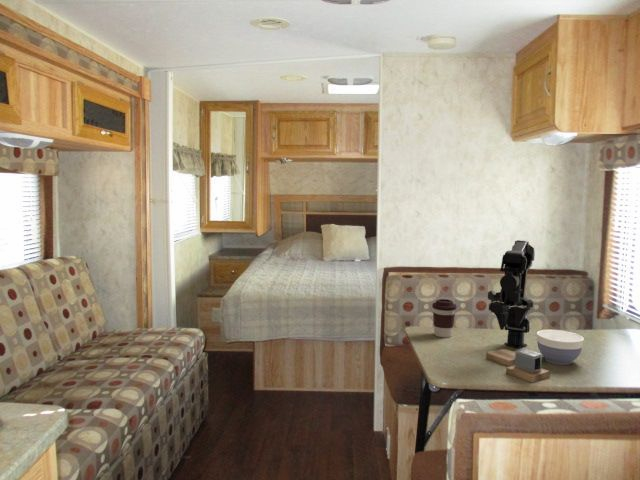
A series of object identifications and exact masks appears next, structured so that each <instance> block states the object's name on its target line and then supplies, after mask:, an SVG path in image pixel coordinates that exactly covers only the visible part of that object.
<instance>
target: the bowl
mask: <svg viewBox="0 0 640 480" xmlns="http://www.w3.org/2000/svg"><path fill="white" fill-rule="evenodd" d="M584 340H585V338H584V337H583V336H582V335H580V334H578V333H575V332H573V331H568V330H561V329H541V330H538V331H537V332H536V341H537V342H536V343H537V347H538V350H539V353H541V354H542V357H544V359H545V361H546V362H548V363H551V364H554V365H562V366H567V365H571V364H572V363H573V362H574V361H575V360H577V358H579V356H580V354H581V353H582V350H583V347H584V342H585V341H584Z"/></svg>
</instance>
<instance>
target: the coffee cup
mask: <svg viewBox="0 0 640 480" xmlns="http://www.w3.org/2000/svg"><path fill="white" fill-rule="evenodd" d="M431 305H432V308H433V312H432V313H433V314H432V315H433V316H432V317H433V319H432V320H433V335H435V336H436V337H438V338H450V337H452V336H453V327H454V324H455V316H456V312H455V311H456V310H457V307H458V306H457V304H455V303H454V301H453V300H451V299H446V298H439V299H436V300H435V302H433V303H432V304H431Z"/></svg>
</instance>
